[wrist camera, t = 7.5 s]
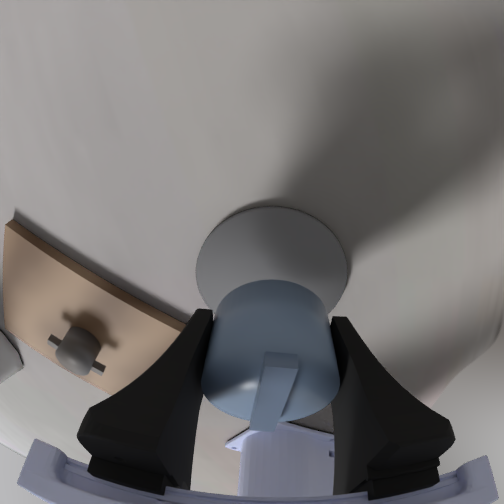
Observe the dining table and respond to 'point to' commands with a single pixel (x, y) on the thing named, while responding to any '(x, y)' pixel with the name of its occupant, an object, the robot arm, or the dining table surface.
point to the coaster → (271, 255)
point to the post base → (79, 315)
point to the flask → (8, 359)
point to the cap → (270, 355)
